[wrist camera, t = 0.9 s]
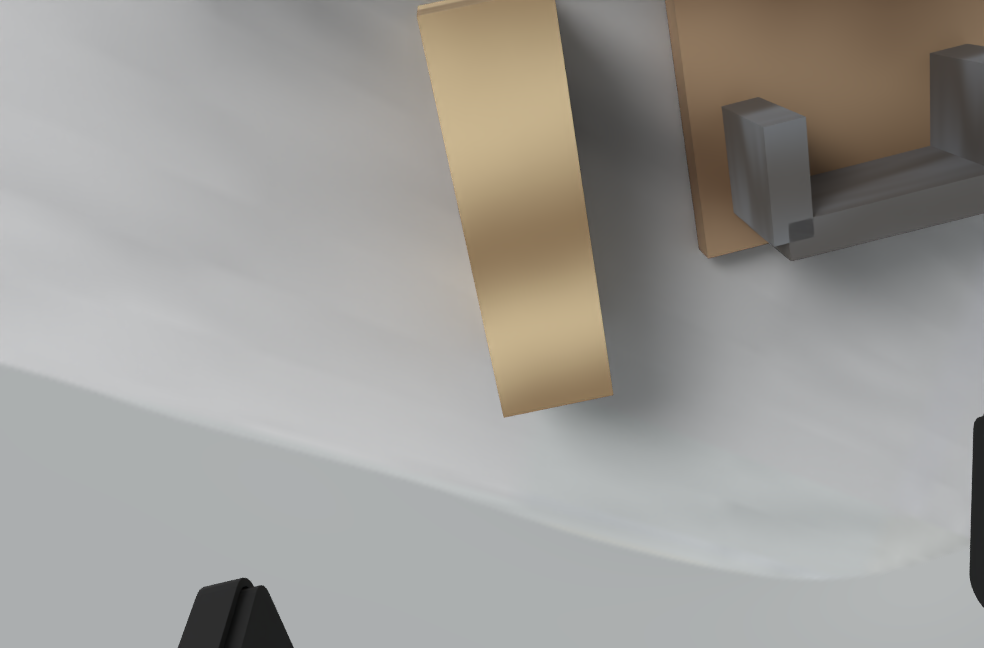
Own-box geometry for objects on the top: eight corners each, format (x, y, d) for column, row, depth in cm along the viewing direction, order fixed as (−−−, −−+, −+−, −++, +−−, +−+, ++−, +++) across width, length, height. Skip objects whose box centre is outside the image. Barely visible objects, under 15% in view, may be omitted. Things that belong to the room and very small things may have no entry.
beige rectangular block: (418, 5, 25) (416, 16, 20) (529, -18, 25) (552, -13, 20) (491, 347, 30) (503, 417, 25) (584, 328, 30) (613, 394, 25)
